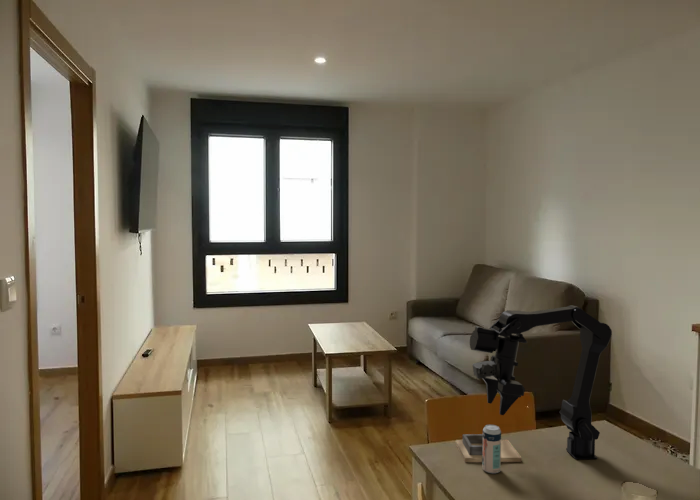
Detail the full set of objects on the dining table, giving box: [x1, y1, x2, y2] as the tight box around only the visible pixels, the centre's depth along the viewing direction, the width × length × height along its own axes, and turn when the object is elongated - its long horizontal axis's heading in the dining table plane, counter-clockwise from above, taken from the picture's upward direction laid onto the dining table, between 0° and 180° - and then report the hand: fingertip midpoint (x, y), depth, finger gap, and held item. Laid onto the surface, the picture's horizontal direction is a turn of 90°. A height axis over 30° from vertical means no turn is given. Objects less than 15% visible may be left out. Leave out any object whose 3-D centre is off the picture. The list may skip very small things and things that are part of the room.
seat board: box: [455, 433, 522, 463], centre depth 151 cm, size 16×12×4 cm
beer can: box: [481, 424, 502, 475], centre depth 140 cm, size 5×5×12 cm
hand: (495, 408), depth 147 cm, fingers open, 9 cm apart
